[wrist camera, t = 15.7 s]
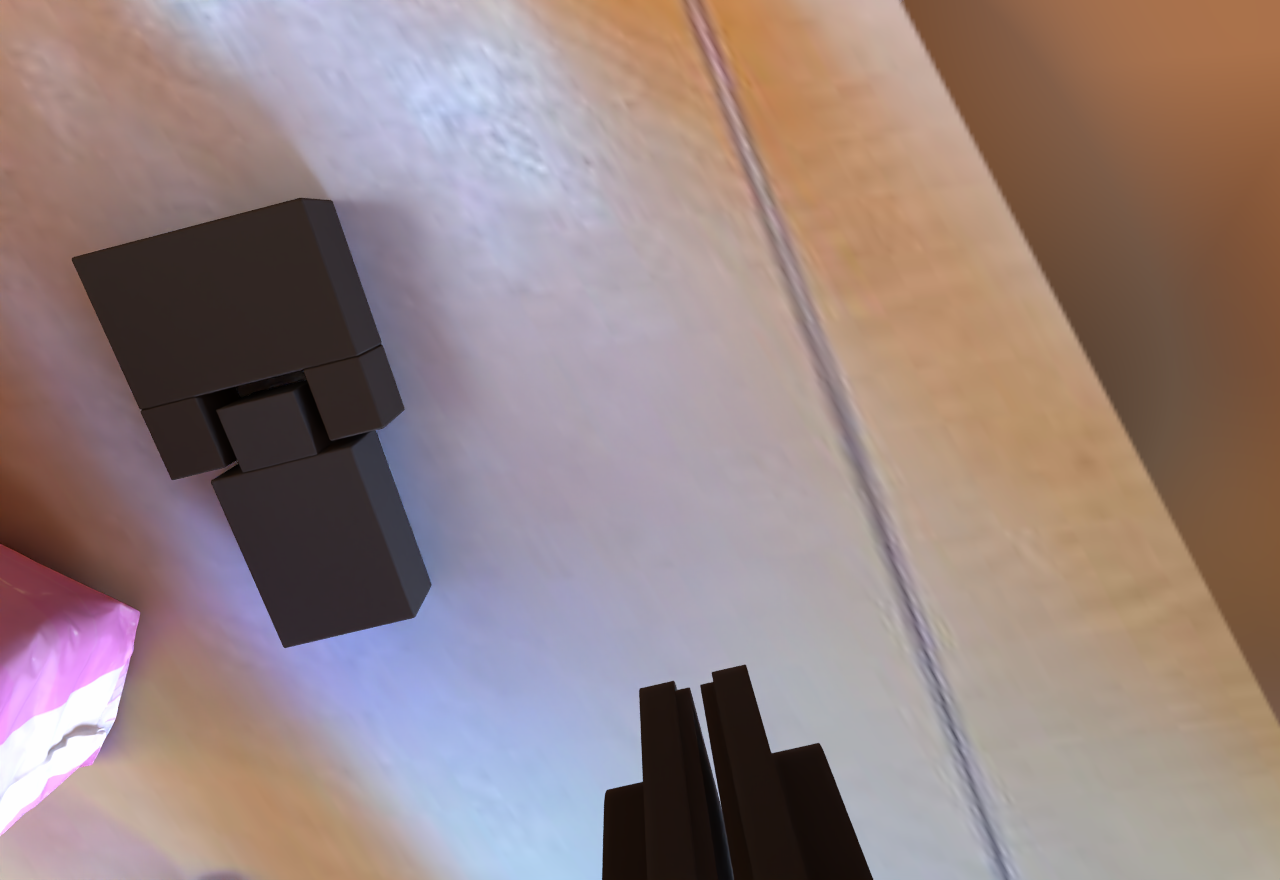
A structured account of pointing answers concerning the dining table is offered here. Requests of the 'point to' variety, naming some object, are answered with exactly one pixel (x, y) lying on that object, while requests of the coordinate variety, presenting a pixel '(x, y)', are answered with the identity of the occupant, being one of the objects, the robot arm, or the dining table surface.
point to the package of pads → (54, 678)
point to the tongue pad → (317, 519)
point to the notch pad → (240, 325)
